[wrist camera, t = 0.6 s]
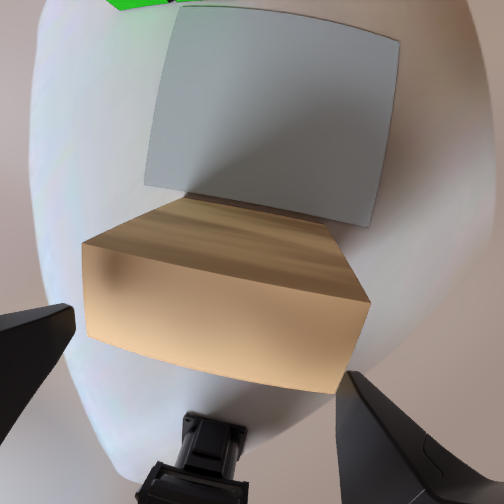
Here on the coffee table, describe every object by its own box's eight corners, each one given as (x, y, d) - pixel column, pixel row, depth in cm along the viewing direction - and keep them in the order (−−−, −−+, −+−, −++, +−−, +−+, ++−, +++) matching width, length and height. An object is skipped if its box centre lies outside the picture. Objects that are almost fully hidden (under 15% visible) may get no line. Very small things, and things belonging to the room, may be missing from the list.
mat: (367, 227, 20) (368, 227, 20) (145, 184, 21) (143, 185, 21) (398, 43, 16) (399, 42, 16) (180, 8, 17) (179, 7, 16)
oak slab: (311, 278, 22) (334, 395, 10) (176, 251, 22) (87, 337, 11) (324, 224, 21) (371, 303, 9) (183, 197, 21) (81, 242, 10)
